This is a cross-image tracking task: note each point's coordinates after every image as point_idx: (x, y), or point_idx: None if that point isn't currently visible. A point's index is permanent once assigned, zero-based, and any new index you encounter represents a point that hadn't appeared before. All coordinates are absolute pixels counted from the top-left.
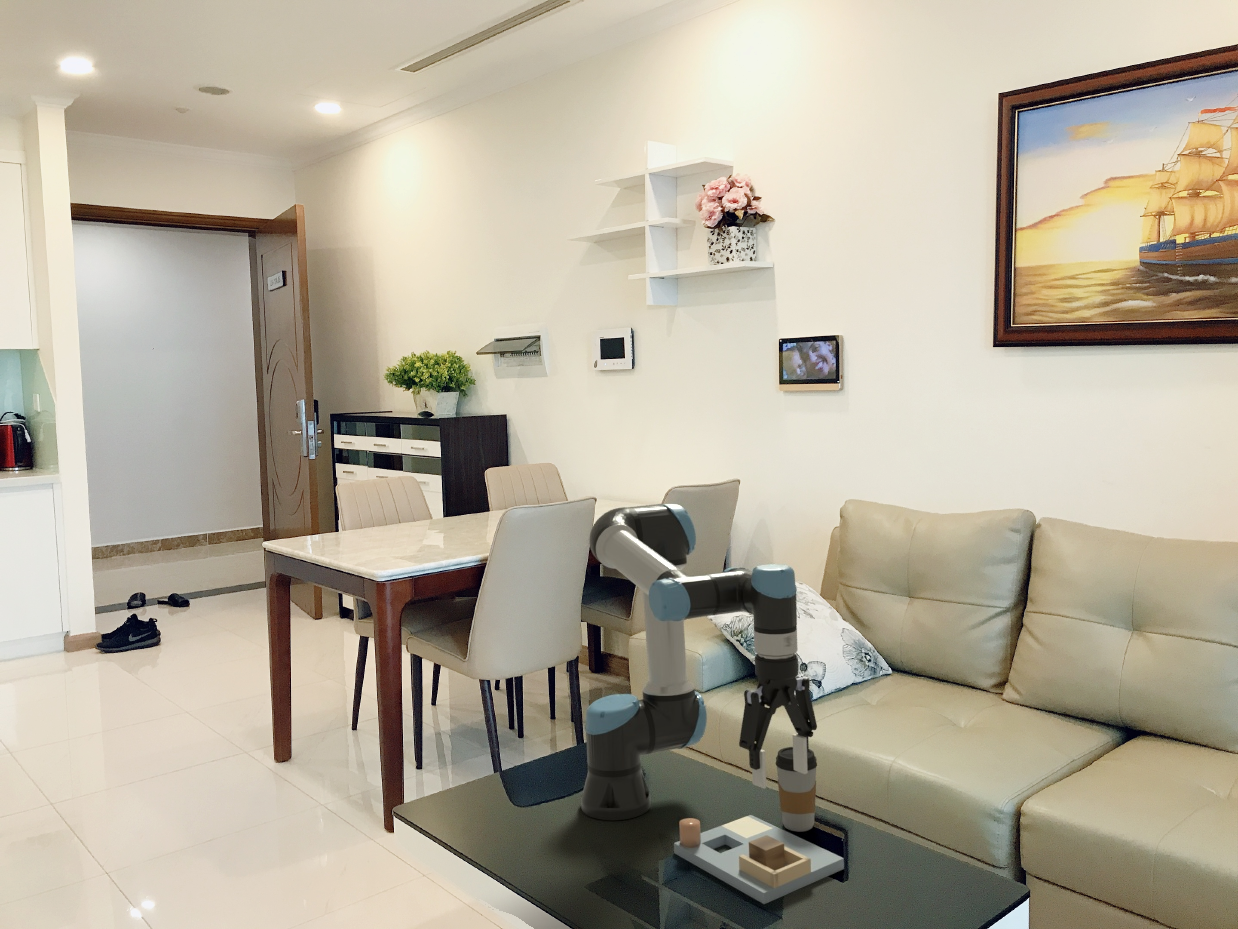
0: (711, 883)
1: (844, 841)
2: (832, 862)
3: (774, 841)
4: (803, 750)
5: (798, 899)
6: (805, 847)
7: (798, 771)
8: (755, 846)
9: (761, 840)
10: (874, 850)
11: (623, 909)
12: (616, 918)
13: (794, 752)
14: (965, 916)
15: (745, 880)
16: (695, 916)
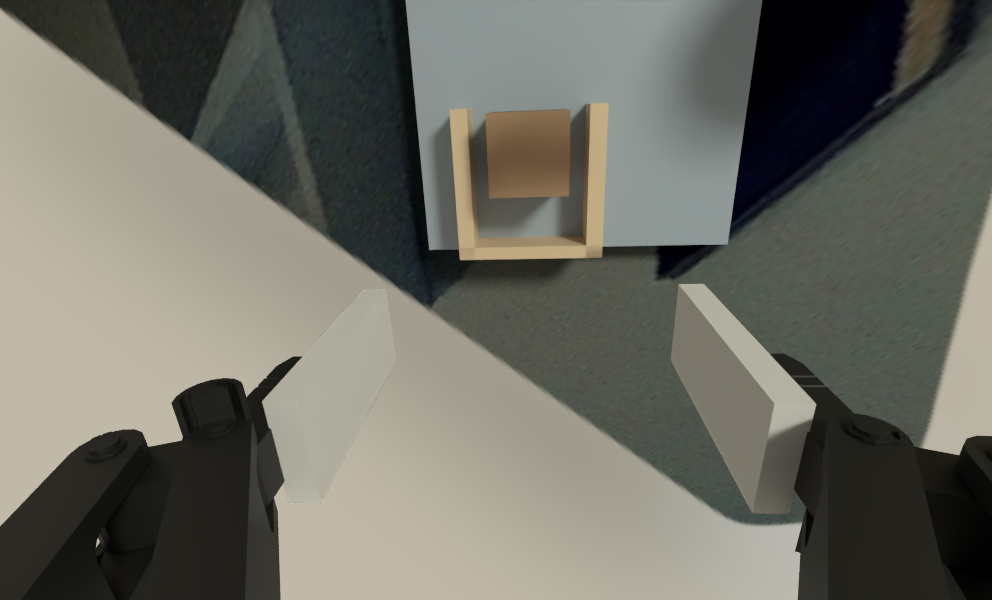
0: (387, 71)
1: (874, 114)
2: (684, 242)
3: (555, 166)
4: (715, 442)
5: (514, 272)
6: (708, 124)
7: (675, 320)
8: (487, 147)
9: (526, 132)
10: (873, 212)
11: (120, 39)
12: (92, 69)
13: (713, 343)
14: (715, 499)
15: (430, 172)
16: (270, 184)
